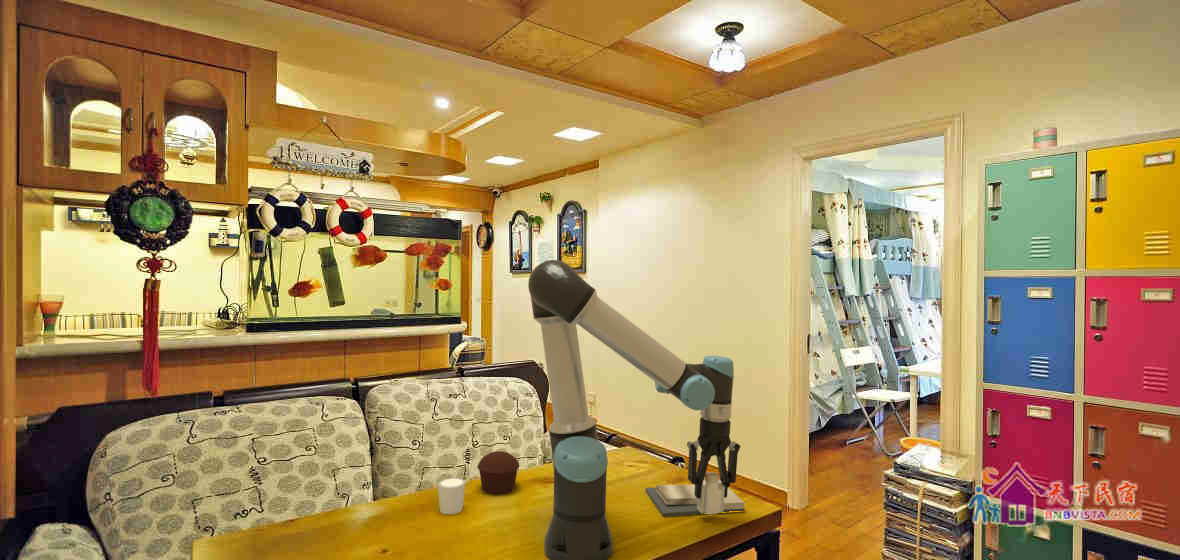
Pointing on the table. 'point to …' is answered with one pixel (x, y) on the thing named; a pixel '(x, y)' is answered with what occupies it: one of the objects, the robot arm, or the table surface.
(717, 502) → the salt shaker
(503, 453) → the muffin
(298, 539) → the table surface
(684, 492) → the plank
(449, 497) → the white tapered cylinder
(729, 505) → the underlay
